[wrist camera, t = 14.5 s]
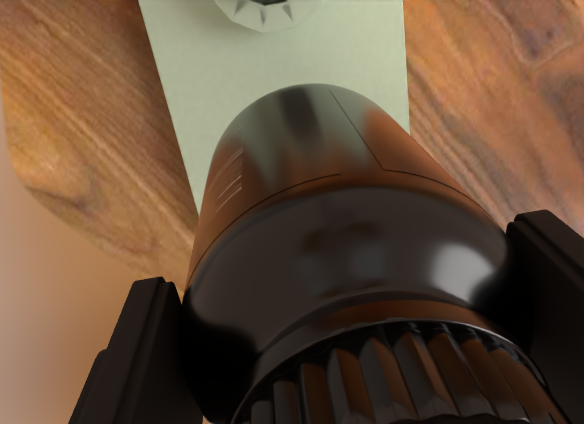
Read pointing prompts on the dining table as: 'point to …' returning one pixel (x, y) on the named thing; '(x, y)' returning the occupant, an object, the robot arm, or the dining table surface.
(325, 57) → the scale
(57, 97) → the dining table surface
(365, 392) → the supplement bottle
